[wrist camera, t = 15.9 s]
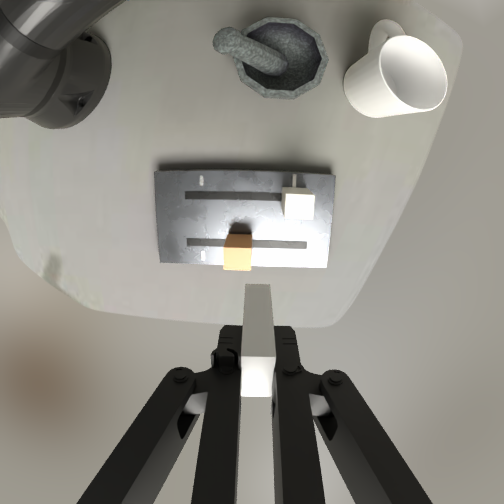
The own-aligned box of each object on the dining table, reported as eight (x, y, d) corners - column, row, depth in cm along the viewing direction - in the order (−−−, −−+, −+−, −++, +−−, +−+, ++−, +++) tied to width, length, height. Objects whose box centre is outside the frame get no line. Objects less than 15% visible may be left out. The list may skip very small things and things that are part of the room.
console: (164, 256, 40) (159, 262, 38) (159, 170, 36) (154, 172, 34) (323, 261, 40) (326, 268, 38) (331, 173, 35) (335, 175, 33)
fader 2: (281, 208, 35) (284, 218, 30) (282, 186, 34) (285, 193, 29) (305, 209, 35) (312, 219, 30) (307, 188, 34) (314, 195, 29)
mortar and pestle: (316, 42, 29) (339, 3, 18) (315, 108, 32) (341, 92, 21) (227, 37, 29) (213, -4, 18) (224, 103, 33) (207, 85, 21)
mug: (393, 41, 28) (437, 13, 17) (401, 120, 32) (452, 117, 21) (337, 32, 28) (367, -6, 17) (344, 115, 33) (382, 105, 21)
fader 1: (227, 253, 37) (223, 269, 32) (227, 233, 36) (223, 247, 32) (251, 254, 37) (250, 270, 32) (252, 234, 36) (251, 248, 31)
